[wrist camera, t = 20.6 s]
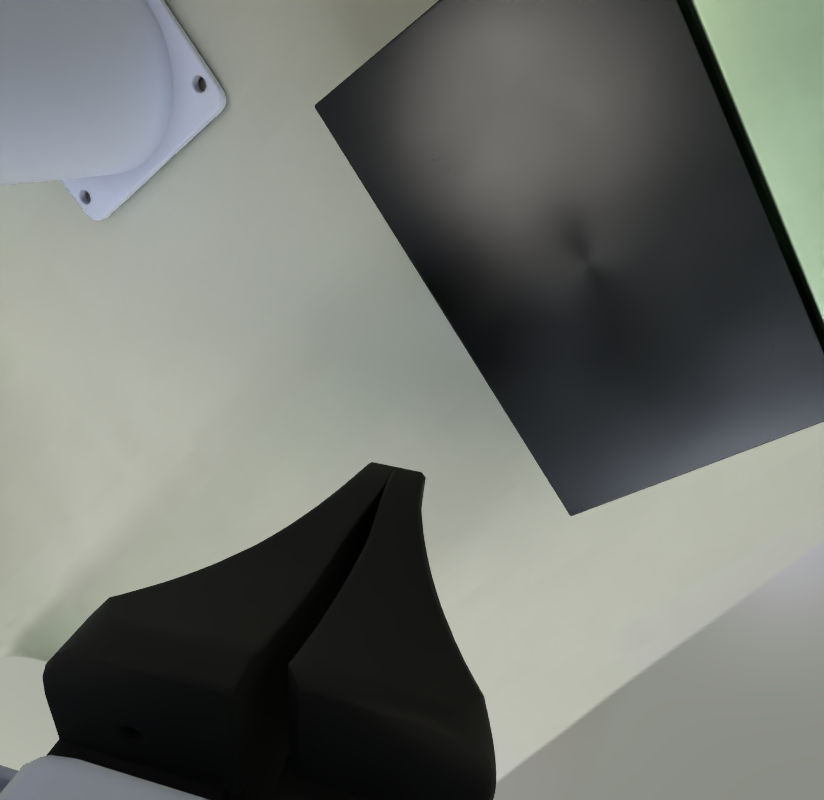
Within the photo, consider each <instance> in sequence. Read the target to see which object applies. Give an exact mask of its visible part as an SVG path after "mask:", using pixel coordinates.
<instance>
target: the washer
mask: <svg viewBox="0 0 824 800" xmlns="http://www.w3.org/2000/svg"><path fill="white" fill-rule="evenodd" d="M678 1H679V4H680V6H681V9H682V11H683V13H684V16H685V18H686V21H687V23H688V25H689V28H690V30H691V33H692V35H693V37H694V40H695V42H696V45H697V47H698V50H699V52H700V54H701V57H702V59H703V62H704V64H705V66H706V69H707V71H708V74H709V76H710V78H711V81H712V83H713V86H714V88H715V90H716V93H717V95H718V98H719V100H720V102H721V105H722V107H723V110H724V112H725V114H726V117H727V119H728V122H729V124H730V127H731V129H732V131H733V134H734V136H735V139H736V141H737V143H738V146H739V148H740V151H741V153H742V155H743V158H744V160H745V163H746V165H747V167H748V170H749V172H750V175H751V177H752V179H753V182H754V184H755V187H756V189H757V192H758V194H759V196H760V199H761V201H762V204H763V206H764V208H765V211H766V213H767V216H768V218H769V220H770V223H771V225H772V228H773V230H774V232H775V235H776V237H777V240H778V242H779V244H780V247H781V249H782V252H783V254H784V257H785V259H786V261H787V264H788V266H789V269H790V271H791V273H792V276H793V278H794V281H795V283H796V285H797V288H798V290H799V293H800V295H801V297H802V300H803V302H804V305H805V307H806V309H807V312H808V314H809V317H810V319H811V321H812V324H813V326H814V329H815V331H816V334H817V336H818V338H819V341H820V343H821V346H822V348H823V350H824V0H678Z"/></svg>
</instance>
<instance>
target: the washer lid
mask: <svg viewBox="0 0 824 800" xmlns="http://www.w3.org/2000/svg"><path fill="white" fill-rule="evenodd" d="M315 108H316V110H317V112H318V113H319V115H320V116H321V118H322V120H323V121H324V123H325V124H326V126H327V128H328V129H329V131H330V132H331V134H332V136H333V137H334V139H335V140H336V142H337V144H338V145H339V147H340V148H341V150H342V152H343V153H344V155H345V156H346V158H347V160H348V161H349V163H350V164H351V166H352V168H353V169H354V171H355V172H356V174H357V176H358V177H359V179H360V180H361V182H362V184H363V185H364V187H365V188H366V190H367V192H368V193H369V195H370V196H371V198H372V200H373V201H374V203H375V204H376V206H377V208H378V209H379V211H380V212H381V214H382V215H383V217H384V219H385V220H386V222H387V223H388V225H389V227H390V228H391V230H392V231H393V233H394V235H395V236H396V238H397V239H398V241H399V243H400V244H401V246H402V247H403V249H404V251H405V252H406V254H407V255H408V257H409V259H410V260H411V262H412V263H413V265H414V267H415V268H416V270H417V271H418V273H419V275H420V276H421V278H422V279H423V281H424V283H425V284H426V286H427V287H428V289H429V291H430V292H431V294H432V295H433V297H434V299H435V300H436V302H437V303H438V305H439V307H440V308H441V310H442V311H443V313H444V315H445V316H446V318H447V319H448V321H449V323H450V324H451V326H452V327H453V329H454V331H455V332H456V334H457V335H458V337H459V339H460V340H461V342H462V343H463V345H464V347H465V348H466V350H467V351H468V353H469V355H470V356H471V358H472V359H473V361H474V363H475V364H476V366H477V367H478V369H479V371H480V372H481V374H482V375H483V377H484V379H485V380H486V382H487V383H488V385H489V387H490V388H491V390H492V391H493V393H494V395H495V396H496V398H497V399H498V401H499V403H500V404H501V406H502V407H503V409H504V411H505V412H506V414H507V415H508V417H509V419H510V420H511V422H512V423H513V425H514V427H515V428H516V430H517V431H518V433H519V435H520V436H521V438H522V439H523V441H524V443H525V444H526V446H527V447H528V449H529V451H530V452H531V454H532V455H533V457H534V459H535V460H536V462H537V463H538V465H539V467H540V468H541V470H542V471H543V473H544V475H545V476H546V478H547V479H548V481H549V482H550V484H551V486H552V487H553V489H554V490H555V492H556V494H557V495H558V497H559V498H560V500H561V502H562V503H563V505H564V506H565V508H566V510H567V511H568V513H569V514H570V516H573V515H575V514H578V513H581V512H583V511H586V510H589V509H591V508H594V507H597V506H599V505H602V504H605V503H607V502H610V501H613V500H615V499H618V498H621V497H623V496H626V495H629V494H631V493H634V492H637V491H639V490H642V489H645V488H647V487H650V486H653V485H655V484H658V483H661V482H663V481H666V480H669V479H671V478H674V477H677V476H679V475H682V474H685V473H687V472H690V471H693V470H695V469H698V468H701V467H703V466H706V465H709V464H711V463H714V462H717V461H719V460H722V459H725V458H727V457H730V456H733V455H735V454H738V453H741V452H743V451H746V450H749V449H751V448H754V447H757V446H759V445H762V444H765V443H767V442H770V441H773V440H775V439H778V438H781V437H783V436H786V435H789V434H791V433H794V432H797V431H800V430H802V429H805V428H808V427H810V426H813V425H816V424H818V423H821V422H824V350H823V348H822V346H821V343H820V341H819V338H818V336H817V334H816V331H815V329H814V326H813V324H812V321H811V319H810V317H809V314H808V312H807V309H806V307H805V305H804V302H803V300H802V297H801V295H800V293H799V290H798V288H797V285H796V283H795V281H794V278H793V276H792V273H791V271H790V269H789V266H788V264H787V261H786V259H785V257H784V254H783V252H782V249H781V247H780V244H779V242H778V240H777V237H776V235H775V232H774V230H773V228H772V225H771V223H770V220H769V218H768V216H767V213H766V211H765V208H764V206H763V204H762V201H761V199H760V196H759V194H758V192H757V189H756V187H755V184H754V182H753V179H752V177H751V175H750V172H749V170H748V167H747V165H746V163H745V160H744V158H743V155H742V153H741V151H740V148H739V146H738V143H737V141H736V139H735V136H734V134H733V131H732V129H731V127H730V124H729V122H728V119H727V117H726V114H725V112H724V110H723V107H722V105H721V102H720V100H719V98H718V95H717V93H716V90H715V88H714V86H713V83H712V81H711V78H710V76H709V74H708V71H707V69H706V66H705V64H704V62H703V59H702V57H701V54H700V52H699V50H698V47H697V45H696V42H695V40H694V37H693V35H692V33H691V30H690V28H689V25H688V23H687V21H686V18H685V16H684V13H683V11H682V9H681V6H680V4H679V1H678V0H439V1H438V2H437V3H435V4H434V5H433V6H432V7H431V8H429V9H428V10H427V11H426V12H425V13H423V14H422V15H421V16H420V17H419V18H418V19H416V20H415V21H414V22H413V23H412V24H410V25H409V26H408V27H407V28H406V29H404V30H403V31H402V32H401V33H400V34H399V35H397V36H396V37H395V38H394V39H393V40H391V41H390V42H389V43H388V44H387V45H386V46H384V47H383V48H382V49H381V50H380V51H378V52H377V53H376V54H375V55H374V56H372V57H371V58H370V59H369V60H368V61H367V62H365V63H364V64H363V65H362V66H361V67H359V68H358V69H357V70H356V71H355V72H354V73H352V74H351V75H350V76H349V77H348V78H346V79H345V80H344V81H343V82H342V83H340V84H339V85H338V86H337V87H336V88H335V89H333V90H332V91H331V92H330V93H329V94H327V95H326V96H325V97H324V98H323V99H322V100H320V101H319V102H318V103H317V104H316V105H315Z"/></svg>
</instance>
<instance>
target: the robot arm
mask: <svg viewBox="0 0 824 800" xmlns="http://www.w3.org/2000/svg"><path fill="white" fill-rule="evenodd" d="M201 77H203V78H204V80H205V82H206V89H205V91H204V92H202V91H201V90H200V88H199V80H200V78H201ZM225 105H226V95H225V92H224V90H223V88H222V87H221V85H220V84H219V82H218V81H217V79H216V78H215V76H214V75H213V73H212V72H211V70H210V69H209V67H208V66H207V64H206V63H205V61H204V60H203V58H202V57H201V55H200V54H199V52H198V51H197V49H196V48H195V46H194V45H193V43H192V42H191V40H190V39H189V37H188V36H187V34H186V33H185V31H184V30H183V28H182V27H181V25H180V24H179V22H178V21H177V19H176V18H175V16H174V15H173V13H172V12H171V10H170V9H169V7H168V6H167V4H166V3H165V1H164V0H0V186H4V185H14V184H24V183H34V182H44V181H54V180H60V181H61V182H62V183H63V185H64V186H65V187H66V189H67V190H68V191H69V192H70V194H71V195H72V196H73V197H74V199H75V200H76V201H77V203H78V204H79V205H80V206H81V208H82V209H83V210H84V211H85V213H86V214H87V215H88V216H89V217H90V218H91V219H93V220H104V219H106V218H108V217H109V216H110V215H111V214H112V213H113V212H114V211H116V210H117V209H118V208H119V207H120V206H121V205H122V204H123V203H124V202H125V201H126V200H127V199H128V198H129V197H131V196H132V195H133V194H134V193H135V192H136V191H137V190H138V189H139V188H140V187H141V186H142V185H143V184H144V183H146V182H147V181H148V180H149V179H150V178H151V177H152V176H153V175H154V174H155V173H156V172H157V171H158V170H160V169H161V168H162V167H163V166H164V165H165V164H166V163H167V162H168V161H169V160H170V159H171V158H172V157H173V156H175V155H176V154H177V153H178V152H179V151H180V150H181V149H182V148H183V147H184V146H185V145H186V144H187V143H188V142H190V141H191V140H192V139H193V138H194V137H195V136H196V135H197V134H198V133H199V132H200V131H201V130H202V129H203V128H205V127H206V126H207V125H208V124H209V123H210V122H211V121H212V120H213V119H214V118H215V117H216V116H217V115H218V114H220V113H221V112H222V111H223V109H224V108H225ZM86 192H88V193H89V195H90V198H91V201H89V200H88V199H87V197H86ZM424 485H425V476H424V475H423V474H422V472H417V471H412V470H407V469H403V468H398V467H393V466H388V465H383V464H378V463H373V462H371V463H370V464H368V465H367V466H366V467H364V468H363V469H362V470H361V471H360V472H359V473H358V474H356V475H355V476H354V477H353V478H352V479H351V480H349V481H348V482H347V483H346V484H345V485H343V486H342V487H341V488H340V489H339V490H337V491H336V492H335V493H334V494H332V495H331V496H330V497H328V498H327V499H326V500H325V501H323V502H322V503H321V504H319V505H318V506H317V507H315V508H314V509H313V510H311V511H310V512H308V513H307V514H305V515H304V516H302V517H301V518H299V519H298V520H297V521H295V522H294V523H292V524H291V525H289V526H288V527H286V528H284V529H283V530H281V531H280V532H278V533H276V534H274V535H273V536H271V537H269V538H268V539H266V540H264V541H262V542H260V543H259V544H257V545H255V546H253V547H251V548H249V549H247V550H244V551H242V552H240V553H238V554H236V555H233V556H231V557H229V558H227V559H225V560H223V561H220V562H218V563H216V564H213V565H211V566H208V567H206V568H203V569H201V570H198V571H196V572H193V573H190V574H187V575H184V576H182V577H179V578H176V579H173V580H170V581H167V582H164V583H161V584H157V585H154V586H150V587H147V588H143V589H139V590H136V591H132V592H129V593H125V594H122V595H118V596H114V597H110V598H108V599H107V600H106V601H105V602H104V603H103V604H102V605H101V606H100V607H99V608H98V609H97V610H96V611H95V612H94V613H93V614H92V615H91V616H90V617H89V618H88V619H87V620H86V621H85V622H84V623H83V624H82V625H81V627H80V628H79V629H78V630H77V631H76V632H75V633H74V634H73V635H72V636H71V637H70V638H69V640H68V641H67V642H66V643H65V644H64V645H63V646H62V647H61V648H60V649H59V650H58V652H57V653H56V654H55V655H54V656H53V657H52V658H51V659H50V660H49V661H48V662H47V664H46V666H45V670H44V673H43V683H44V689H45V695H46V699H47V702H48V705H49V707H50V711H51V714H52V717H53V720H54V723H55V726H56V729H57V732H58V735H59V738H60V739H59V741H58V742H57V743H56V744H55V745H54V747H53V748H52V749H51V751H50V752H49V753H48V754H47V756H44V757H40V758H38V759H36V760H34V761H32V762H30V763H27V764H25V765H23V766H22V767H21V769H20V770H19V771H17V770H14V769H10V768H8V767H4V766H1V765H0V800H493V798H494V794H495V788H496V762H495V752H494V745H493V739H492V733H491V728H490V722H489V718H488V713H487V709H486V704H485V699H484V696H483V694H482V692H481V690H480V688H479V687H478V685H477V683H476V681H475V680H474V678H473V676H472V674H471V672H470V670H469V669H468V667H467V665H466V663H465V661H464V659H463V657H462V655H461V653H460V650H459V648H458V646H457V644H456V642H455V640H454V637H453V635H452V632H451V630H450V627H449V625H448V622H447V620H446V618H445V615H444V613H443V610H442V607H441V604H440V601H439V598H438V595H437V592H436V589H435V585H434V582H433V578H432V575H431V571H430V567H429V562H428V557H427V552H426V547H425V541H424V534H423V525H422V513H421V507H422V500H423V492H424Z"/></svg>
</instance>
